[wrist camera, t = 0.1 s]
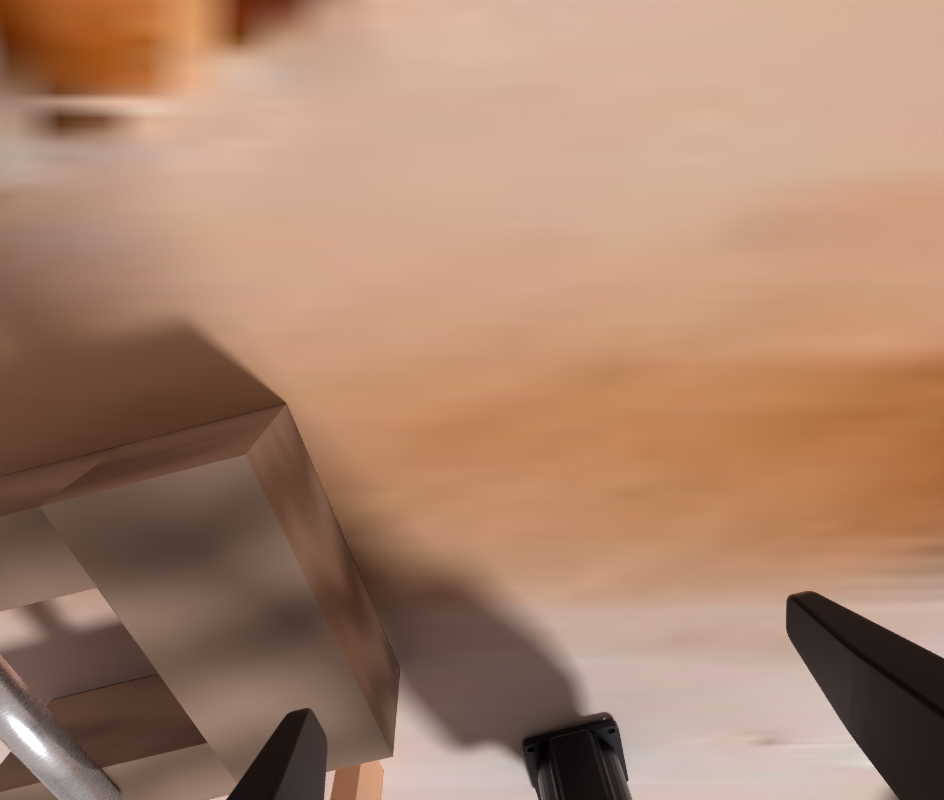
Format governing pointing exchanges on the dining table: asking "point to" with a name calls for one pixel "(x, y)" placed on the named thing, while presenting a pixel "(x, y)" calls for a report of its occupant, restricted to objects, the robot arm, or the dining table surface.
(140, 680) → the u-shaped stone cradle
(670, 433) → the dining table surface
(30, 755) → the metal rod
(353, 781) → the wooden building block
